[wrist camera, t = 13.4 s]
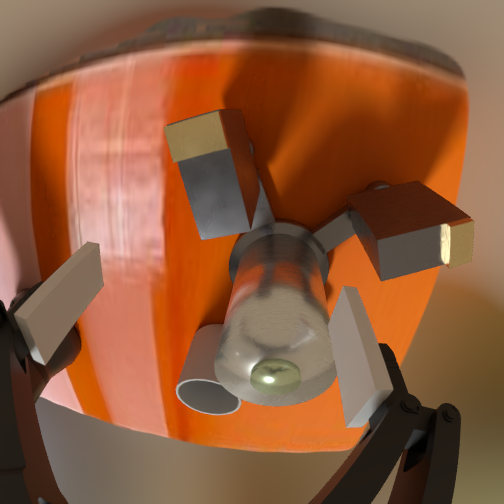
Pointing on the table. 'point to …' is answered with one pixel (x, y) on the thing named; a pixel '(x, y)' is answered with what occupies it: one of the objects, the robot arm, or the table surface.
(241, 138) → the grey rectangular block
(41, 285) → the robot arm
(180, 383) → the cup
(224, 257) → the table surface
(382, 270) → the tan-tipped grey block
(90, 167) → the table surface
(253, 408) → the table surface
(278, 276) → the stand
